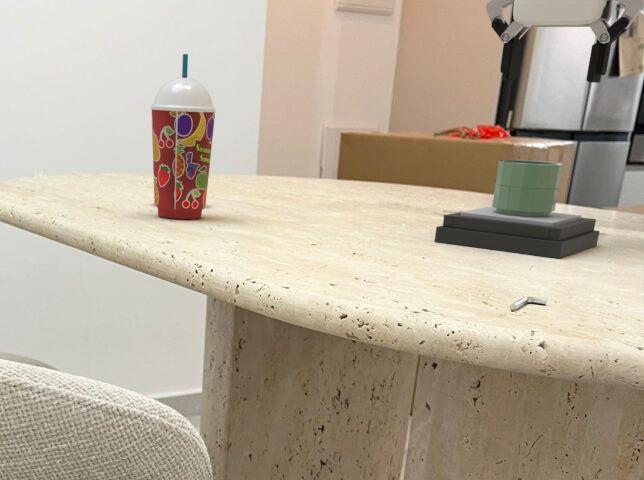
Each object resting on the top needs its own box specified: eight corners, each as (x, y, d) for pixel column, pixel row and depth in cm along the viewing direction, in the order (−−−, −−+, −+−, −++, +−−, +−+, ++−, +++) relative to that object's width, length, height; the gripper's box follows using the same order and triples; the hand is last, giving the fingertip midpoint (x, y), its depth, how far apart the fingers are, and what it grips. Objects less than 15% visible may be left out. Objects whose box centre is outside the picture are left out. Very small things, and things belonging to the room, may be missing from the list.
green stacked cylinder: (503, 208, 119) (511, 159, 117) (561, 214, 115) (570, 163, 113) (482, 212, 114) (489, 160, 112) (541, 219, 110) (551, 165, 108)
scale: (480, 231, 126) (484, 206, 124) (596, 245, 117) (601, 219, 116) (434, 241, 114) (437, 214, 113) (559, 258, 106) (564, 229, 105)
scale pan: (492, 218, 122) (494, 205, 122) (578, 228, 116) (581, 215, 116) (458, 225, 114) (460, 211, 113) (550, 236, 108) (552, 222, 107)
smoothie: (210, 222, 122) (218, 54, 115) (146, 219, 122) (150, 51, 115) (211, 214, 130) (218, 56, 122) (150, 211, 130) (154, 53, 123)
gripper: (668, -88, 101) (637, 83, 108) (510, -77, 111) (490, 80, 117) (652, -98, 96) (619, 82, 102) (487, -86, 105) (466, 79, 112)
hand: (550, 81), depth 110 cm, fingers open, 9 cm apart
